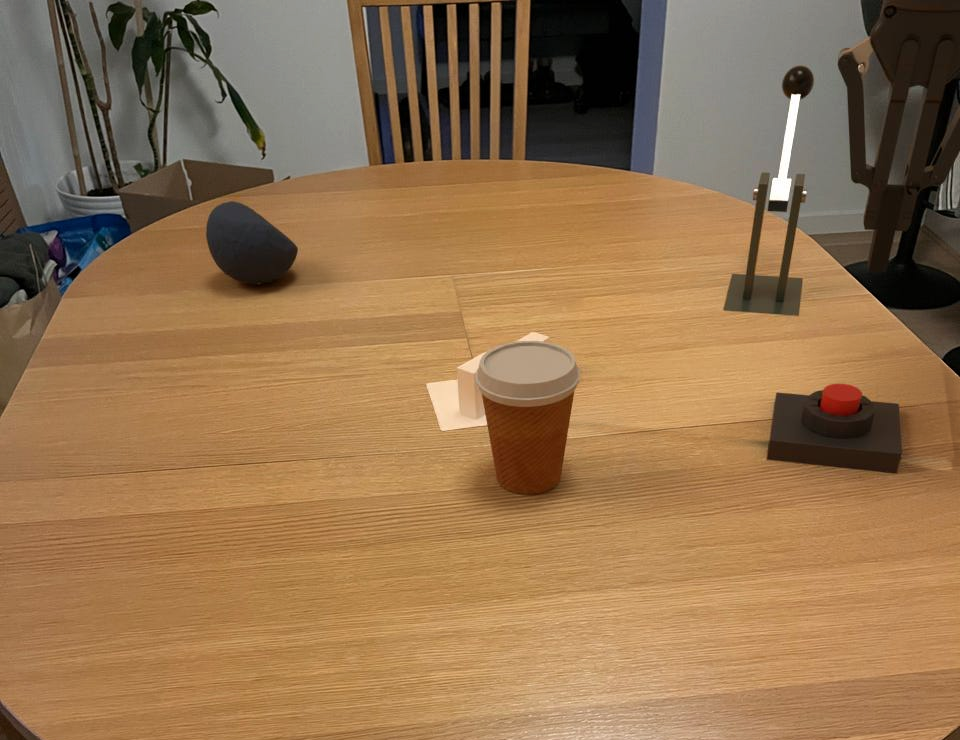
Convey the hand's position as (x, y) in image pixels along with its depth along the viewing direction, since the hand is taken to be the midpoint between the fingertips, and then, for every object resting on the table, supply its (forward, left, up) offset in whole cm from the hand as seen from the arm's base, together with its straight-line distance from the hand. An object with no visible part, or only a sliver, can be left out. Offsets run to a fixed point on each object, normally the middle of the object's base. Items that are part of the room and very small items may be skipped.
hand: (876, 266), depth 86 cm
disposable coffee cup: (+29, +14, -17) cm, 36 cm away
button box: (+1, +1, -17) cm, 17 cm away
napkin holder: (+36, -1, -17) cm, 40 cm away
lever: (+10, -38, 0) cm, 40 cm away
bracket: (+10, -32, -17) cm, 37 cm away
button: (+1, +1, -14) cm, 14 cm away
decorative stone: (+78, -27, -17) cm, 84 cm away
